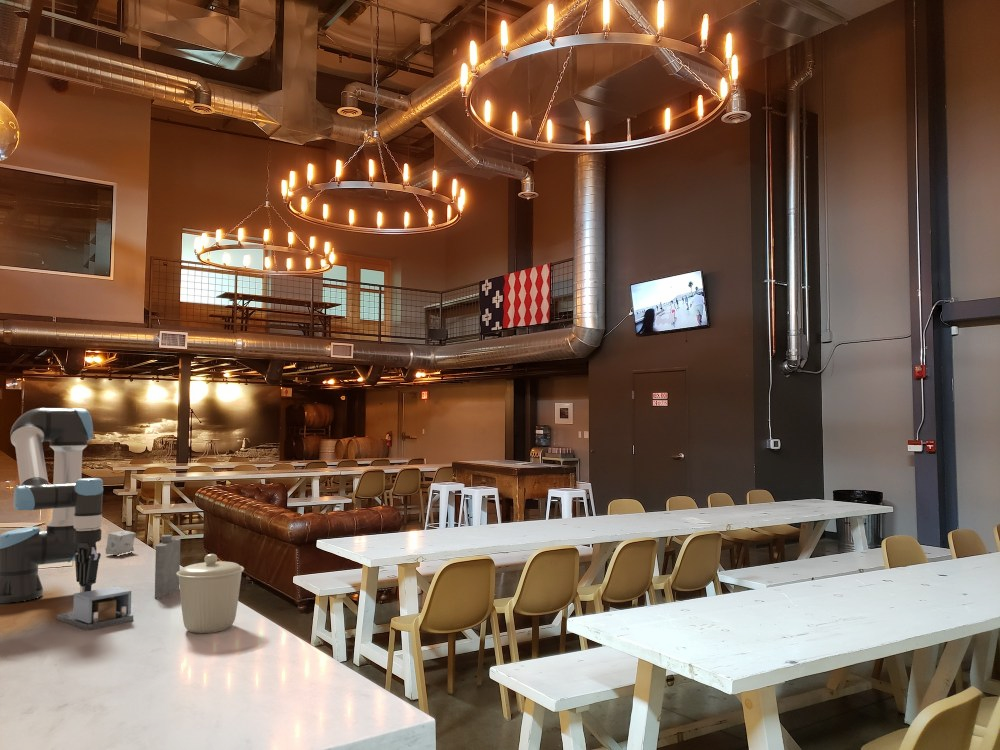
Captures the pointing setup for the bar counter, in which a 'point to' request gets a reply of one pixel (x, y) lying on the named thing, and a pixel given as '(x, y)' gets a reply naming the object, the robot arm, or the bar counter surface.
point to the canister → (209, 594)
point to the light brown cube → (104, 608)
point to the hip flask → (167, 566)
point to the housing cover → (84, 599)
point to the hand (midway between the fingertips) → (85, 606)
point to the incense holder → (120, 542)
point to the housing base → (93, 625)
